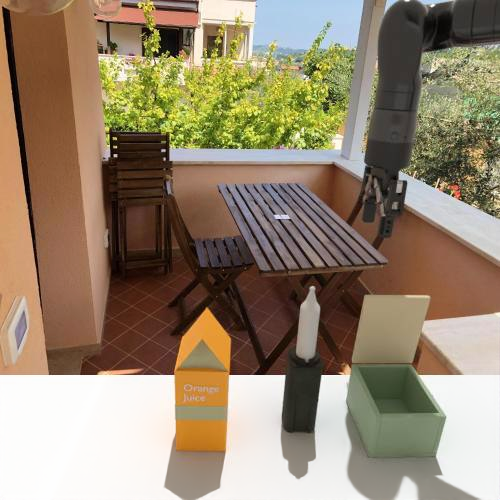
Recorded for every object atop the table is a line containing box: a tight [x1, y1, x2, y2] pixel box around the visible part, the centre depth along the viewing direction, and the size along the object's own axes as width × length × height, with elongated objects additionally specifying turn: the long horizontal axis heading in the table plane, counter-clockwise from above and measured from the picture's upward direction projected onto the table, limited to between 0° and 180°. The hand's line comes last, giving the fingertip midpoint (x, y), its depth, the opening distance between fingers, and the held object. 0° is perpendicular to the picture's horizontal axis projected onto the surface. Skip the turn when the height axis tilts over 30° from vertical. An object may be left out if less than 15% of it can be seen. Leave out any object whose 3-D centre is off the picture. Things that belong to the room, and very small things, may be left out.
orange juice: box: [173, 306, 232, 452], centre depth 65 cm, size 8×9×20 cm
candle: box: [281, 285, 324, 434], centre depth 67 cm, size 5×5×25 cm
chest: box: [345, 363, 447, 459], centre depth 70 cm, size 13×11×8 cm
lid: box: [351, 294, 431, 364], centre depth 71 cm, size 13×11×1 cm
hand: (375, 229), depth 78 cm, fingers open, 8 cm apart
